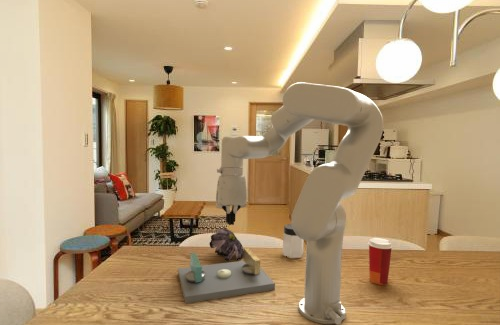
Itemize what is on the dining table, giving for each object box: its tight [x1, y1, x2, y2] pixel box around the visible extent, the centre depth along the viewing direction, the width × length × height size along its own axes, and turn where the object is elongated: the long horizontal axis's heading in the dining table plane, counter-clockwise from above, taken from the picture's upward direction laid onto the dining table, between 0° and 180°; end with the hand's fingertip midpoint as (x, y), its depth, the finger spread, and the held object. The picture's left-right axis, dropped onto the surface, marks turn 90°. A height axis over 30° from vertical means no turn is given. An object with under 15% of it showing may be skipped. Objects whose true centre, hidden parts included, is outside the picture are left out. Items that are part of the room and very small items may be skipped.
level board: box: [177, 260, 276, 304], centre depth 98 cm, size 20×28×4 cm
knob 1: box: [186, 252, 205, 283], centre depth 94 cm, size 12×6×6 cm, turn 19°
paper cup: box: [367, 237, 394, 286], centre depth 100 cm, size 8×8×14 cm
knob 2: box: [242, 247, 261, 275], centre depth 100 cm, size 12×6×6 cm, turn 19°
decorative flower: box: [209, 228, 244, 262], centre depth 119 cm, size 14×12×15 cm
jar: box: [282, 223, 305, 259], centre depth 123 cm, size 9×8×12 cm
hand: (230, 223), depth 103 cm, fingers closed
